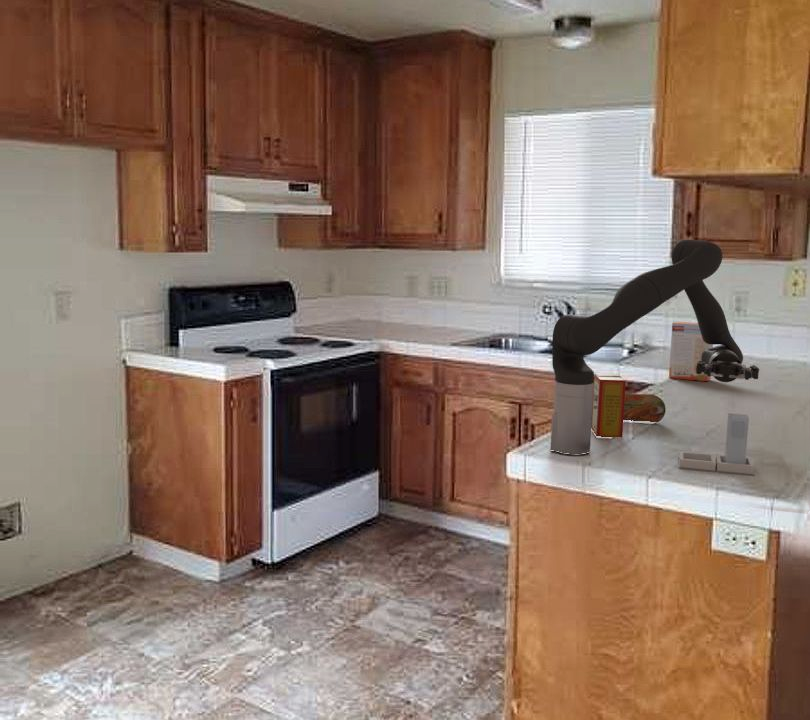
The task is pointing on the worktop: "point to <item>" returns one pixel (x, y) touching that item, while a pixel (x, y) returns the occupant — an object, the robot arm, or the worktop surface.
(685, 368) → the cracker box
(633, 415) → the tin
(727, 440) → the plug
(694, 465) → the grey divided tray
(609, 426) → the baking soda box
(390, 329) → the worktop surface
